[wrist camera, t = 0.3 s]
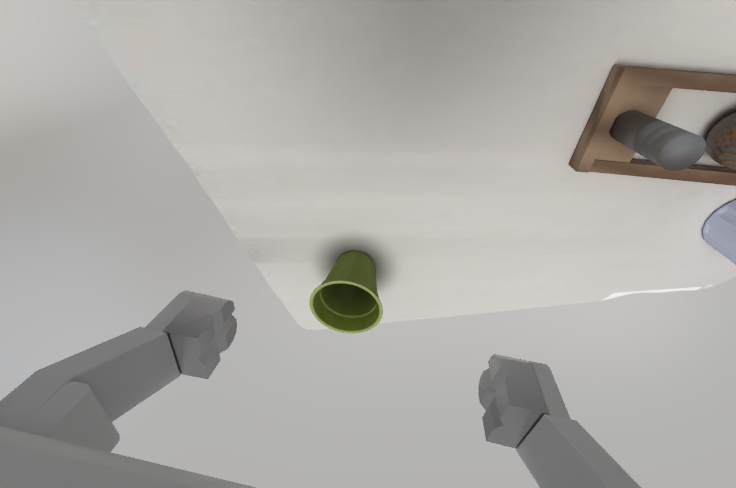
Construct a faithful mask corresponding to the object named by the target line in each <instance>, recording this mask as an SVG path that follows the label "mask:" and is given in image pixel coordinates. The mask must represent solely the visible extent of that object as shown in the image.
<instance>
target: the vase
mask: <svg viewBox="0 0 736 488" xmlns="http://www.w3.org/2000/svg"><path fill="white" fill-rule="evenodd" d="M706 149H707V152H708V154H709V155H710V157H711V158H712V159H713V160H714V161H716V162H717V163H719V164H721V165H723V166H725V167H727V168H730V169H734V170H736V112H735V113H732V114H730V115H728V116H726V117H725V118H723V119H722V120H720V121H719V122H718V123H717V124H716V125H715V126H714V127H713V128H712V129H711V131H710V132H709V134H708V136H707V139H706Z"/></svg>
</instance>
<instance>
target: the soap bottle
mask: <svg viewBox="0 0 736 488" xmlns="http://www.w3.org/2000/svg"><path fill="white" fill-rule="evenodd" d="M702 231H703V238H704V240H705V241H706V242H707V243H708V244H709V245H710V246H712V247H713V248H714V249H716V250H717V251H718V252H720V253H721V254H722V255H724V256H725V257H726V258H728V259H729V260H730V261H732V262H733V263H734V264H736V200H734V201H732V202H730V203H728V204H726V205H724V206H723V207H721V208H720V209H718V210H717V211H716V212H714V213H713V214H712V215H711V217H710V218H709V219H708V220H707V221H706V223H705V225H704V228H703V230H702Z"/></svg>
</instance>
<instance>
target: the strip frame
mask: <svg viewBox="0 0 736 488" xmlns="http://www.w3.org/2000/svg"><path fill="white" fill-rule="evenodd" d="M672 88H682V89H694V90H706V91H719V92H731V93H736V75H732V74H720V73H707V72H694V71H681V70H668V69H656V68H643V67H630V66H617V65H614V66H613V69H612V71H611V73H610V75H609V77H608V80H607V82H606V84H605V86H604V88H603V90H602V93H601V95H600V97H599V99H598V101H597V104H596V106H595V108H594V110H593V112H592V115H591V117H590V119H589V121H588V123H587V126H586V128H585V130H584V132H583V134H582V137H581V139H580V141H579V143H578V145H577V148H576V150H575V152H574V154H573V156H572V159H571V161H570V163H569V165H570V166H571V167H572V168H573V169H574V170H575V171H578V172H599V173H610V174H620V175H631V176H641V177H651V178H662V179H672V180H683V181H693V182H703V183H714V184H724V185H734V186H736V170H734V169H730V168H724V167H714V166H703V165H693V164H694V163H696V162H697V161H698V160H699V159H700V158H701V157H702V155H703V154H704V152H705V149H706V142H705V140H704V139H703V138H702V137H700V136H698V135H696V134H693V133H691V132H688V131H686V130H683V129H681V128H678V127H676V126H673V125H671V124H668V123H666V122H664V121H661V120H659V119H656V116H657V114H658V112H659V111H660V109H661V107H662V105H663V104H664V102H665V100H666V98H667V97H668V95H669V93H670V91H671V90H672ZM636 152H637V153H639V154H640V155H642V156H644V157H645V158H647V159H649V160H650V161H649V160H639V159H632V158H633V156H634V154H635V153H636Z"/></svg>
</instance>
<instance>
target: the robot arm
mask: <svg viewBox="0 0 736 488" xmlns="http://www.w3.org/2000/svg"><path fill="white" fill-rule="evenodd" d="M234 309H235V308H234V303H233V301H230V300H226V299H222V298H217V297H213V296H209V295H205V294H199V293H195V292H190V291H183V292H181V293H179V295H177V296H176V297H175V298H174V299H173V300H172V301H171V302H170V303H169V304H168V305H167V306H166V307H165V308H164V309H163V310H162V311H161V312H160V313H159V314H158V315H157V316H156V317H155V318H154V319H153V320H152V321H151V322H150V323H149V324H148V325H147V326H146V327H145V328H142V327H139V328H136V329H134V330H132V331H129V332H127V333H125V334H122V335H120V336H118V337H115V338H113V339H111V340H108V341H106V342H103V343H101V344H99V345H96V346H94V347H92V348H89V349H87V350H85V351H82V352H80V353H78V354H75V355H73V356H71V357H68V358H66V359H64V360H61V361H59V362H57V363H54V364H52V365H49V366H47V367H45V368H42V369H40V370H38V371H36V372H35V373H34V374H33V375H31V376H30V377H29V378H28V379H26V380H25V381H24V382H23V383H22V384H20V385H19V386H18V387H17V388H15V389H14V390H13V391H12V392H11V393H9V394H8V395H7V396H6V397H5V398H4V399H2V400H1V401H0V488H255V487H251V486H247V485H242V484H238V483H235V482H230V481H226V480H222V479H218V478H214V477H210V476H206V475H201V474H197V473H193V472H189V471H185V470H181V469H177V468H173V467H168V466H164V465H160V464H156V463H152V462H148V461H144V460H140V459H135V458H131V457H127V456H123V455H119V454H115V453H111V451H112V449H113V448H114V447H115V446H116V444H117V443H118V441H119V440H120V439H119V438H120V437H119V433H118V432H117V430H116V428H115V427H114V425H113V424H112V421H114V420H116V419H117V418H118V417H120V416H121V415H123V414H124V413H126V412H127V411H129V410H130V409H132V408H133V407H135V406H136V405H138V404H139V403H140V402H142V401H143V400H145V399H147V398H148V397H150V396H151V395H152V394H154V393H155V392H157V391H158V390H160V389H161V388H163V387H164V386H166V385H167V384H169V383H170V382H172V381H173V380H175V379H176V378H178V377H179V376H180V374H184V375H189V376H195V377H200V378H205V379H208V378H209V377H210V375H211V374H212V372H213V370H214V369H215V367H216V366H217V365H218V363H219V361H220V356H219V353H220V352H223V351H225V350H226V349H228V347H229V346H230V344H231V343H232V341H233V339H234V336H235V334H236V328H237V322H236V319H235V318H234V316H232V312H233V311H234ZM489 367H490V368H489V369H487V370H485V371H483V373H482V375H481V378H480V382H479V399H480V403H481V405H482V406H483V407H484V409H485V410H486V412H485V414H484V416H483V424H484V430H485V436H486V441H489V442H492V443H497V444H501V445H504V446H509V447H512V448H516V451H517V452H518V454H519V455H520V457H521V459H522V460H523V462H524V463H525V465H526V466H527V468H528V469H529V471H530V473H531V474H532V476H533V477H534V479H535V480H536V482H537V484H538V485H539V487H540V488H641V487H640V486H639V485H638V484H637V483H636V482H635V481H634V480H633V479H632V478H631V477H630V476H629V475H628V474H627V473H626V472H625V471H624V470H623V469H622V468H621V466H620V465H619V464H618V463H617V462H616V461H615V460H614V459H613V458H612V457H611V456H610V455H609V454H608V453H607V452H606V451H605V450H604V449H603V448H602V447H601V446H600V445H599V444H598V443H597V442H596V441H595V440H594V439H593V438H592V436H590V434H589V433H588V432H586V430H585V429H584V428H583V427H582V426H581V425H580V424H579V423H578V422H577V421H575V420H571V419H570V417H569V414H568V412H567V409H566V407H565V404H564V402H563V399H562V397H561V394H560V392H559V389H558V387H557V384H556V382H555V380H554V377H553V375H552V372H551V370H550V368H549V367H548V366H547V365H546V364H541V363H536V362H531V361H527V360H522V359H516V358H511V357H506V356H501V355H496V354H494V355H493V356H491V358H490V360H489Z"/></svg>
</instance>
